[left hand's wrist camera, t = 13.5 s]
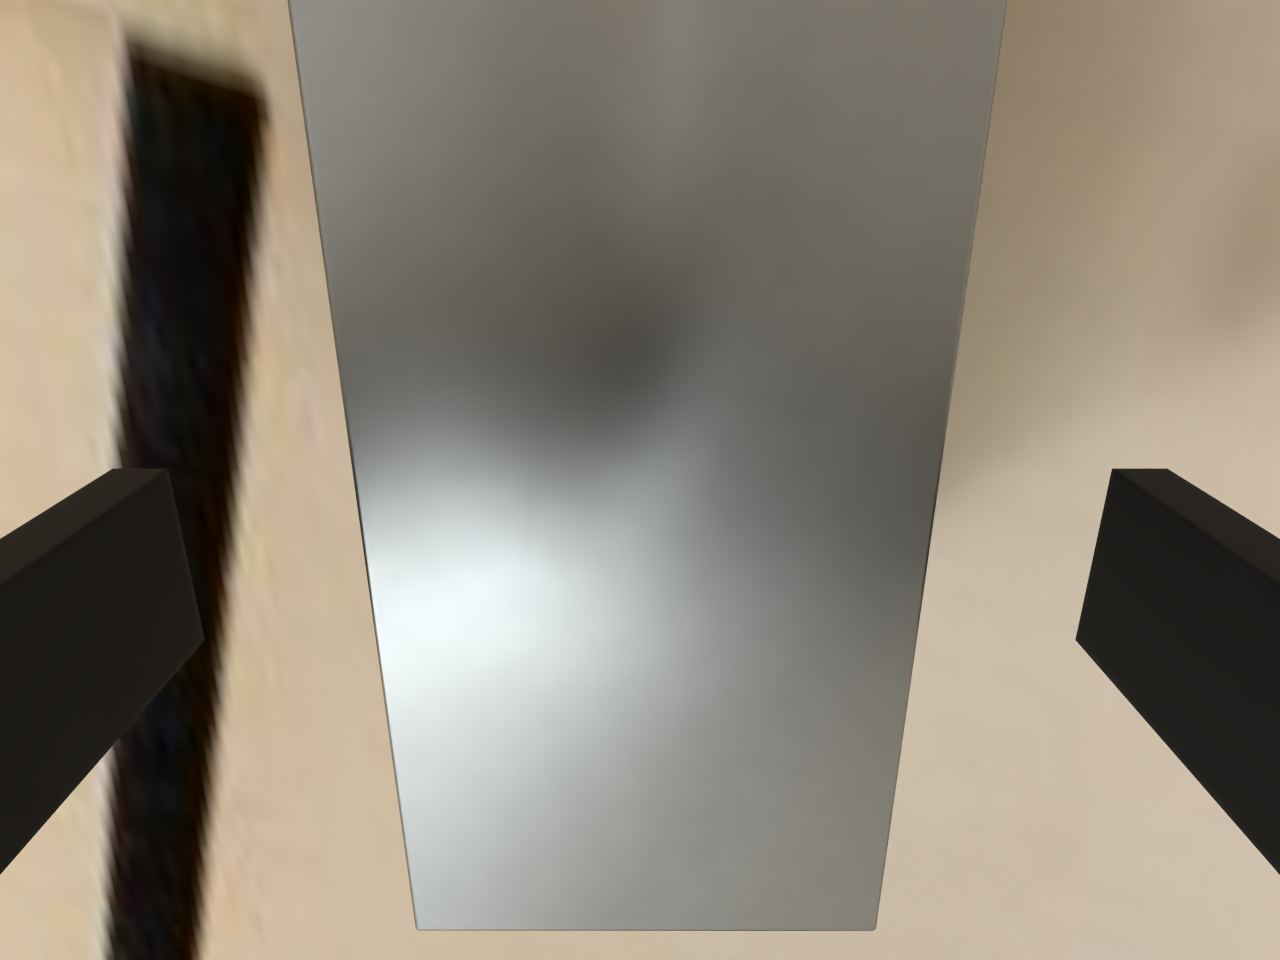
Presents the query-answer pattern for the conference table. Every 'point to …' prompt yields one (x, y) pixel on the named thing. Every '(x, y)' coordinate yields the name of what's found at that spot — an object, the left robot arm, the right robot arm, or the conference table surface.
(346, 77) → the box
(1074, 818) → the conference table surface
